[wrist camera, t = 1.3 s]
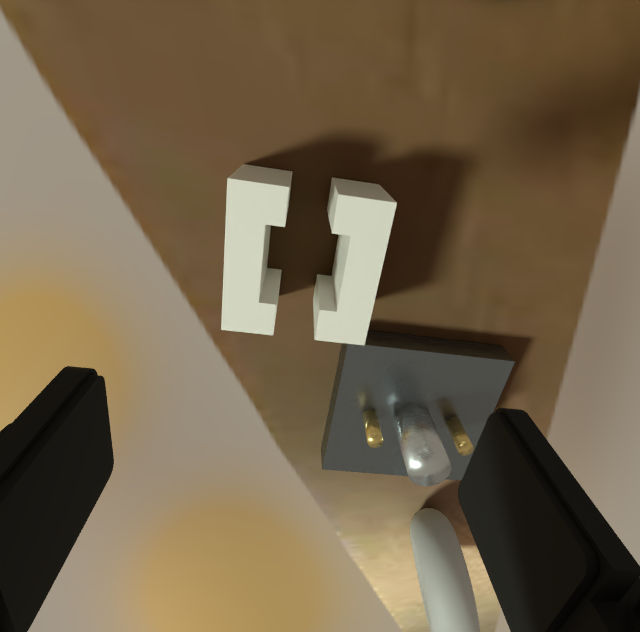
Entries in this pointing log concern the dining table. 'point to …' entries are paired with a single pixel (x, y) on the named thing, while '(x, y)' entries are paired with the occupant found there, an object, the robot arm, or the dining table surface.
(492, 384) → the post base
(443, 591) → the donut
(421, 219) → the dining table surface
